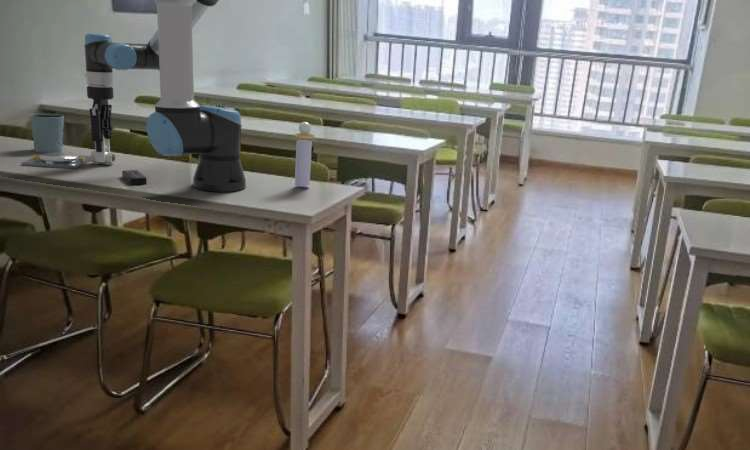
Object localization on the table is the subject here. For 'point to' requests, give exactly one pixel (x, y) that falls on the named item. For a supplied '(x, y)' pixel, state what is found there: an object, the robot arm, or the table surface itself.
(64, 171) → the table surface
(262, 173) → the table surface
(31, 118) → the blue-grey cup
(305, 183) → the perfume bottle
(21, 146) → the table surface
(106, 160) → the valve
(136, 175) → the multiport hub
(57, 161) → the lock plate
